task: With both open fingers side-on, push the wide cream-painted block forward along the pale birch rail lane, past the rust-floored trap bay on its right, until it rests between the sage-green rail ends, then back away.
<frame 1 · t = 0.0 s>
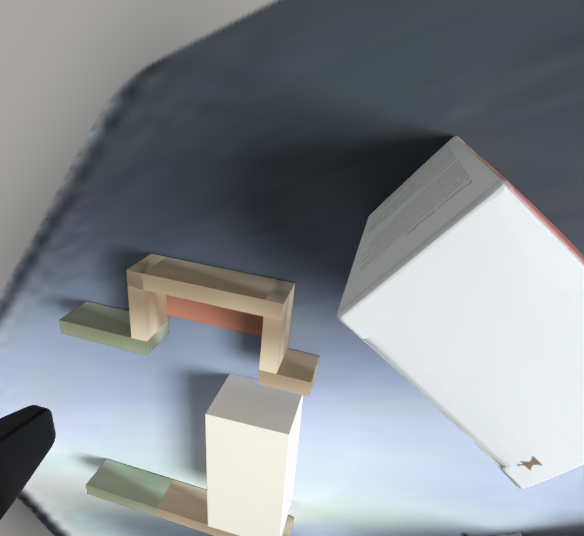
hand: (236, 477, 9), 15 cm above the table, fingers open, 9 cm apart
small box: (464, 232, 20), on the table
cream block: (263, 436, 29), on the table
lane: (222, 428, 29), on the table
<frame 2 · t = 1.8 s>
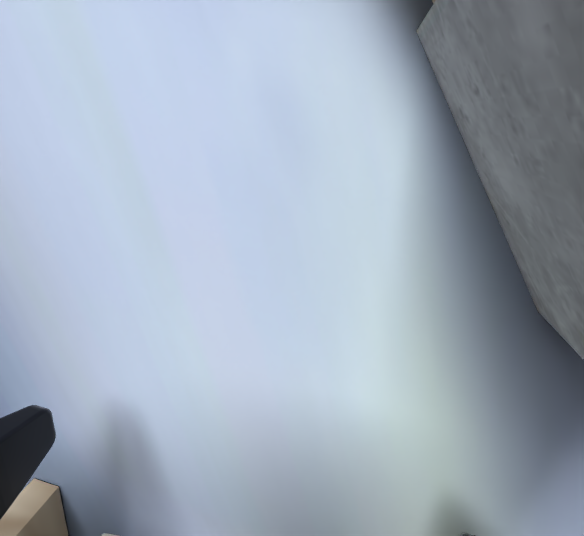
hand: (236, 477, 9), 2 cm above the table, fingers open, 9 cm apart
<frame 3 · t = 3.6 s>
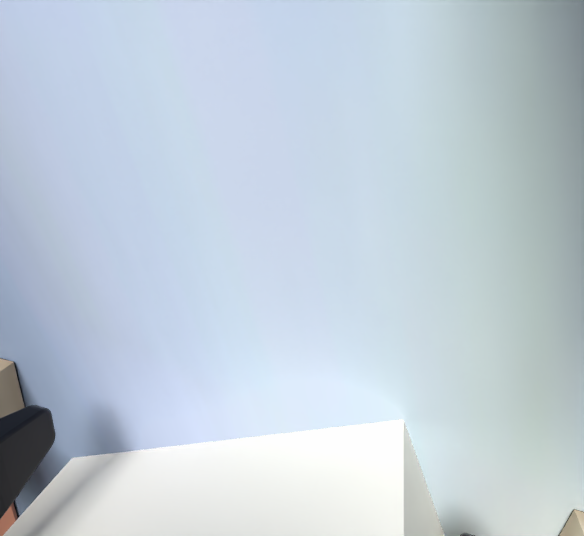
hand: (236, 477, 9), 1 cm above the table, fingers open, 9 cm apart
cream block: (249, 505, 12), on the table
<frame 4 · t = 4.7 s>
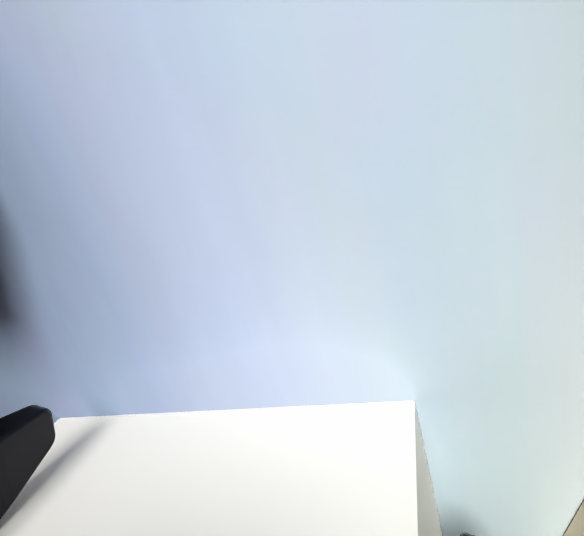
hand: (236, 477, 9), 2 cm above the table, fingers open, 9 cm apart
cream block: (239, 484, 11), on the table, touching gripper
lane: (262, 420, 10), on the table
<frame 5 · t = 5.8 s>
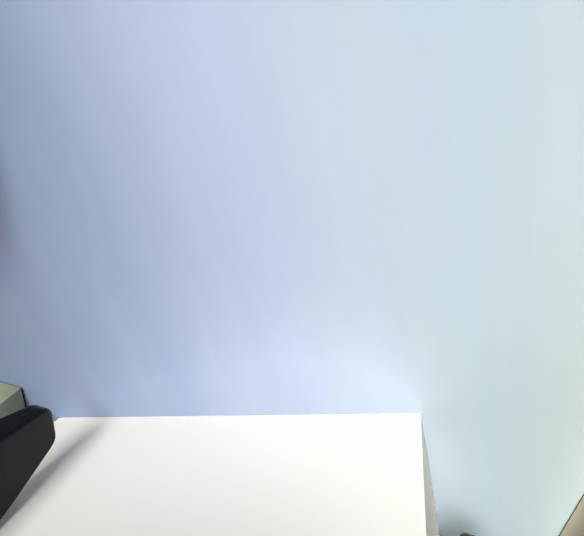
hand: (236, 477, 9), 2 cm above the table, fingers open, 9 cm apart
cream block: (243, 481, 11), on the table
lane: (268, 322, 9), on the table
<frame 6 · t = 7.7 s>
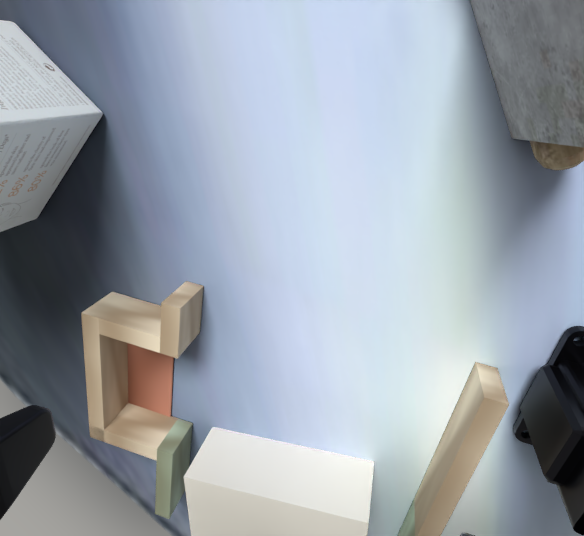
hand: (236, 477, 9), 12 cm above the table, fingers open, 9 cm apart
small box: (32, 130, 21), on the table
cream block: (290, 469, 26), on the table
lane: (310, 410, 23), on the table
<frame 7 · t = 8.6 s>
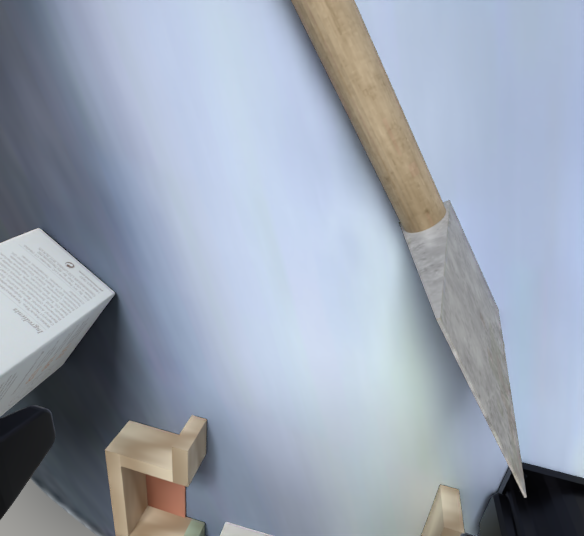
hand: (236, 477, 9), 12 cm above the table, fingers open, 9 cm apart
small box: (56, 299, 25), on the table
lane: (305, 516, 27), on the table
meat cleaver: (336, 21, 16), on the table
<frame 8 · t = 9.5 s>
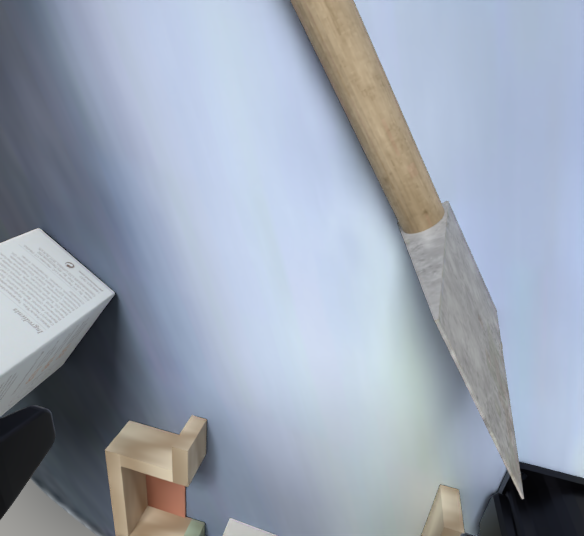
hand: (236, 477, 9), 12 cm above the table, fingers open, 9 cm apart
small box: (56, 299, 25), on the table
lane: (305, 516, 27), on the table
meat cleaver: (335, 21, 16), on the table
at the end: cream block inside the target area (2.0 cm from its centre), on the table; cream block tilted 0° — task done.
